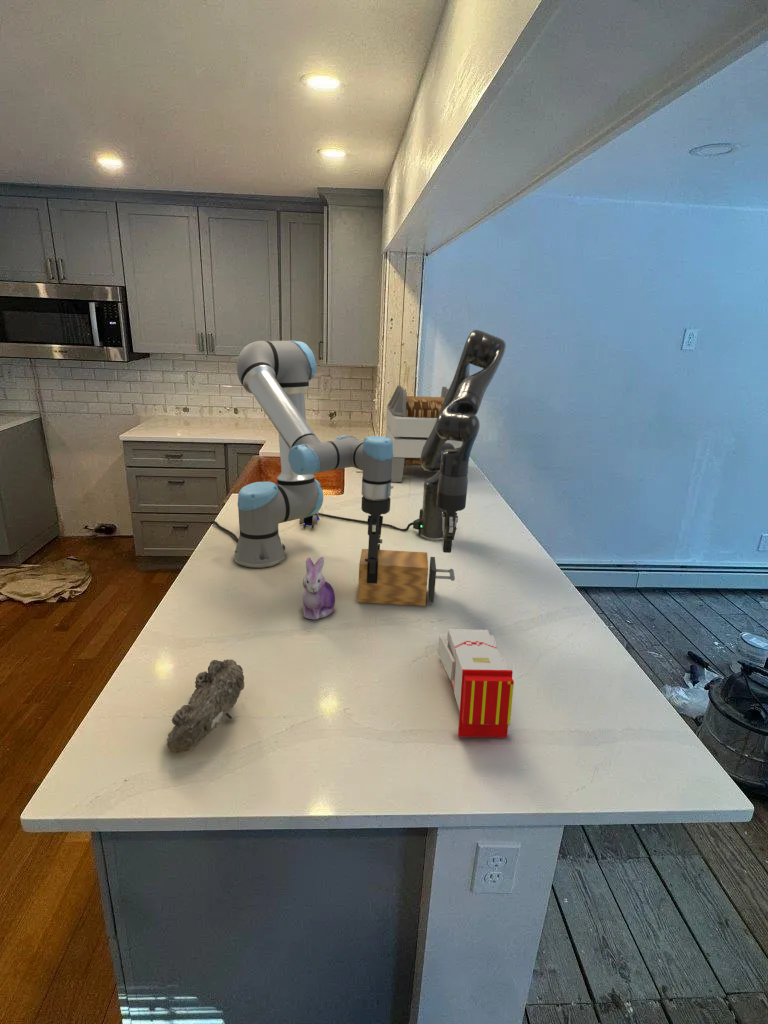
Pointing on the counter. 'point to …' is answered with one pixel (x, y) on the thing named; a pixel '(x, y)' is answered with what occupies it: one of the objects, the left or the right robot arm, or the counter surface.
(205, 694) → the fossil
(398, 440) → the transformer
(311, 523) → the figurine character
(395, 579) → the zigzag wood grain block
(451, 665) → the toy
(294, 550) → the counter surface
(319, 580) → the figurine
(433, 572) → the drawer
